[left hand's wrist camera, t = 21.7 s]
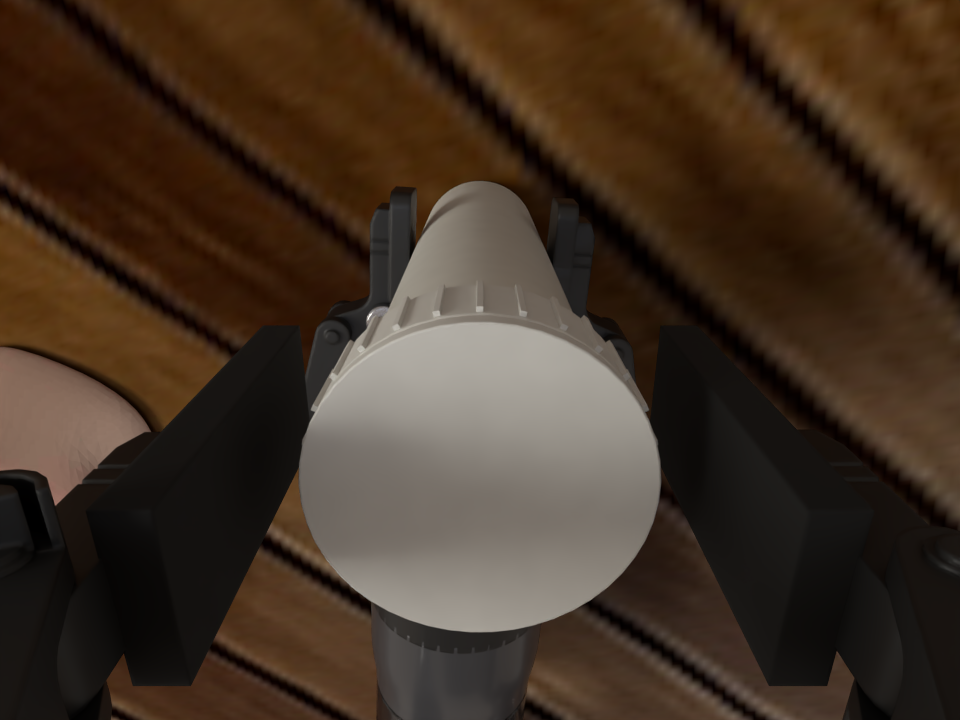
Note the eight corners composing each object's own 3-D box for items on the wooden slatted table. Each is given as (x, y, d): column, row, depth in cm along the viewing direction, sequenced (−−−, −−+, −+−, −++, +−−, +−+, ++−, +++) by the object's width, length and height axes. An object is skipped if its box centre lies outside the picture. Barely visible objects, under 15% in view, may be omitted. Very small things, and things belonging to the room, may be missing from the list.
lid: (587, 232, 11) (612, 261, 9) (667, 511, 13) (701, 585, 11) (270, 341, 11) (226, 390, 9) (393, 589, 13) (379, 671, 11)
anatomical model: (-144, 363, 27) (137, 413, 28) (-69, 332, 31) (177, 376, 31) (-102, 608, 32) (136, 643, 33) (-41, 555, 35) (171, 588, 36)
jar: (419, 186, 28) (309, 343, 10) (530, 175, 28) (624, 316, 10) (432, 292, 30) (359, 591, 12) (536, 283, 30) (626, 571, 12)
